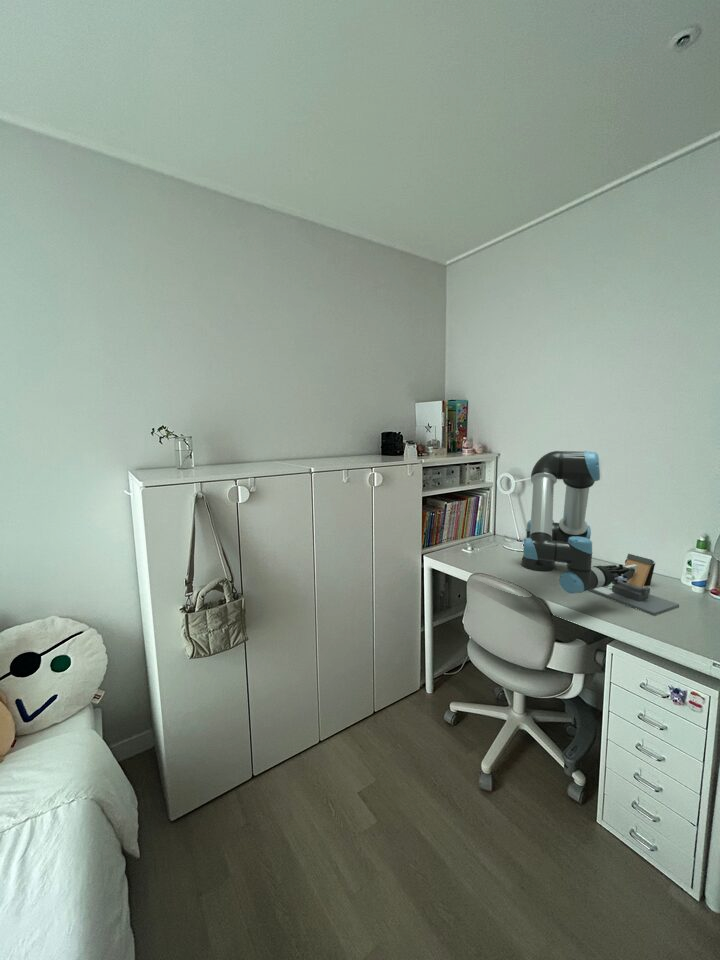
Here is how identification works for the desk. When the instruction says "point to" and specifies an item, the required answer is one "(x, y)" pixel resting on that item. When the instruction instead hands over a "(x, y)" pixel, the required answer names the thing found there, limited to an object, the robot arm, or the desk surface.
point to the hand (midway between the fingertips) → (635, 568)
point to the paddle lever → (641, 574)
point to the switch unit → (635, 598)
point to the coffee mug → (648, 575)
